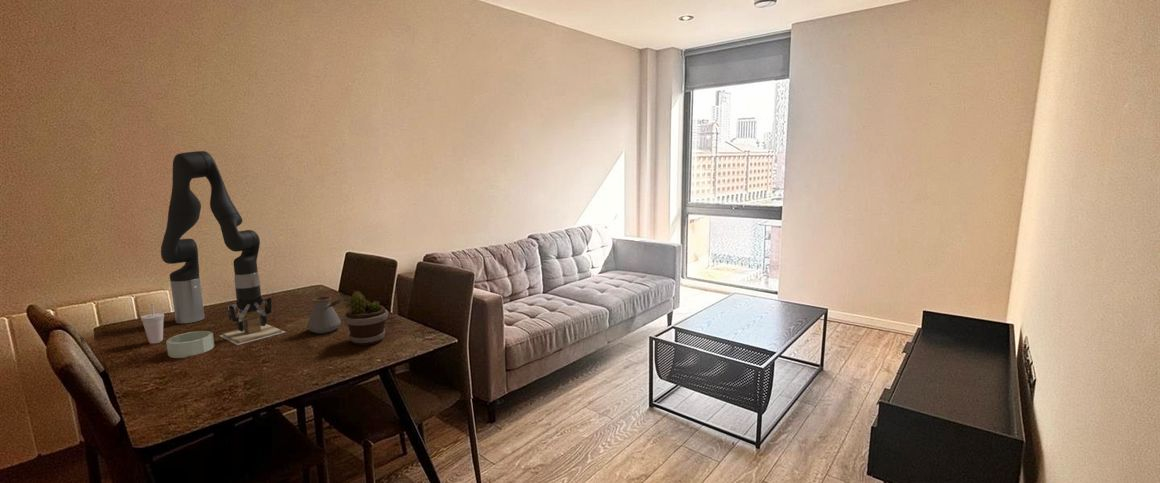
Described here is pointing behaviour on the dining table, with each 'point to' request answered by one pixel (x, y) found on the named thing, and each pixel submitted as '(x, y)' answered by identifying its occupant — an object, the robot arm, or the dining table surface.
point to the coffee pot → (323, 316)
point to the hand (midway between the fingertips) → (252, 328)
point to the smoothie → (153, 326)
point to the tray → (247, 341)
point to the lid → (252, 331)
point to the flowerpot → (365, 320)
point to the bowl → (190, 344)
